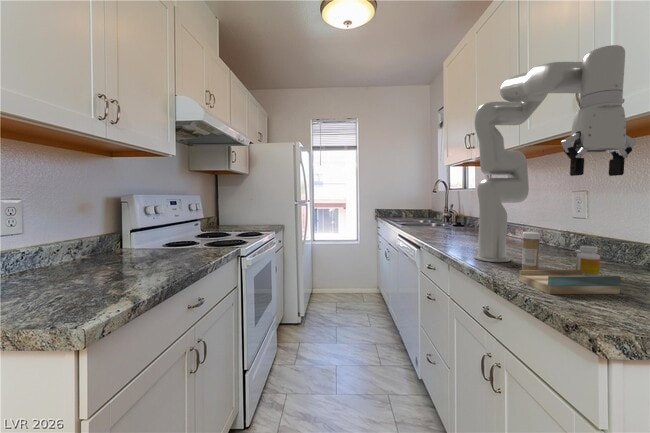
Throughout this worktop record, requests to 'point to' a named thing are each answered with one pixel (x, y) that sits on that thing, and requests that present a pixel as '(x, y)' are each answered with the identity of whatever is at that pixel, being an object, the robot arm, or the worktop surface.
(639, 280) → the worktop surface
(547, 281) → the shelf board
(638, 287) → the worktop surface
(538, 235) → the sprinkles bottle
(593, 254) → the supplement bottle
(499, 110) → the robot arm
